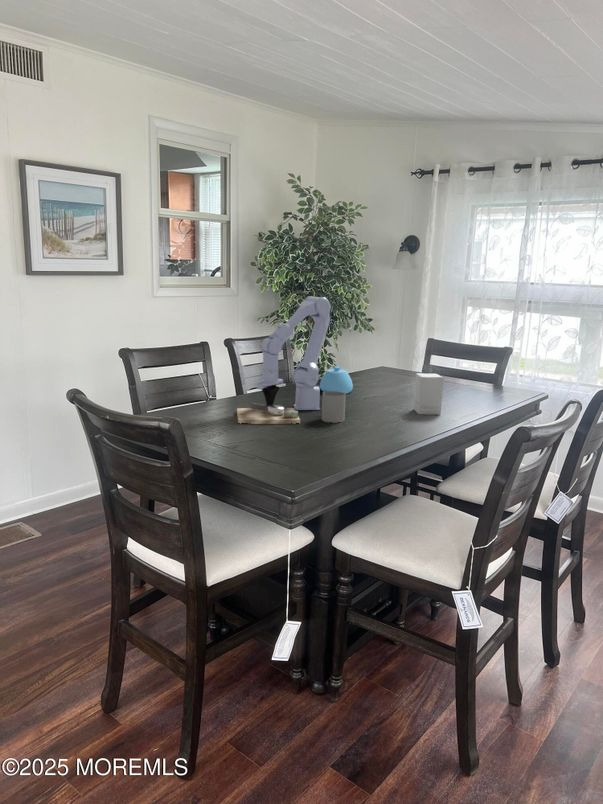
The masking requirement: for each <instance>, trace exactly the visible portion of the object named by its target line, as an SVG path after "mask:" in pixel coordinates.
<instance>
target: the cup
mask: <svg viewBox="0 0 603 804" xmlns="http://www.w3.org/2000/svg"><path fill="white" fill-rule="evenodd" d="M346 395H347V394H345V393H343V392H337V391H327V392H322V397H321V399H322V402H321V420H322V421H323V422H325V423H330V422H332V424H338V422H340V423H343V422H345V417H346V416H345V415H346V414H345V412H346Z"/></svg>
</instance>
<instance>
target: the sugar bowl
mask: <svg viewBox="0 0 603 804" xmlns="http://www.w3.org/2000/svg"><path fill="white" fill-rule="evenodd" d="M353 388H354V385H353V380H352V378H351V376H350V375H349V373H348V371H347V370H344V369H341V367H340V366H333V369H327V370H326V371H325V373H324V374H323V376H322V377H321V379H320V383H319V389H320V390H321V392H322V391H323V392H327V391H337V392H343V393H345V394H346V395H348V394H350V393H351V392H352V390H353ZM323 392H322V393H323Z"/></svg>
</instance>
